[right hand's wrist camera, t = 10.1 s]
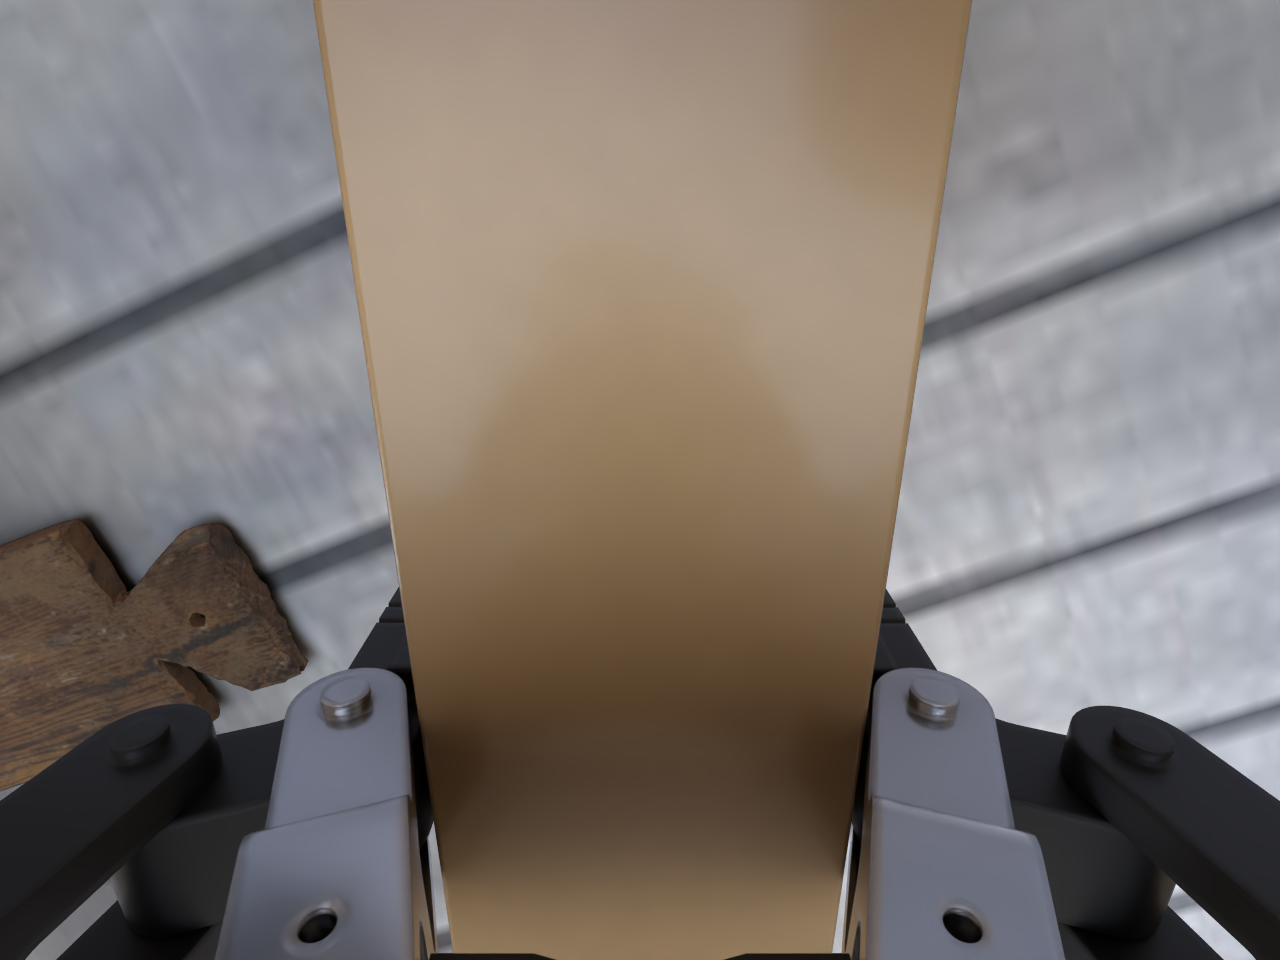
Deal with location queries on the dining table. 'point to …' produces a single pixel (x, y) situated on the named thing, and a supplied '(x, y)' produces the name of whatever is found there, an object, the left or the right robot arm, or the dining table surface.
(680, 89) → the bar
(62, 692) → the dark wooden board
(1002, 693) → the dining table surface
